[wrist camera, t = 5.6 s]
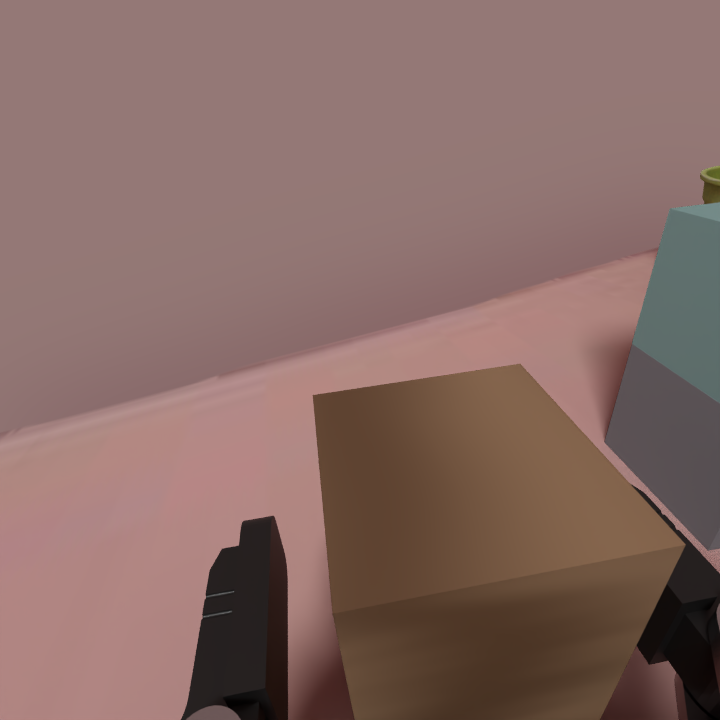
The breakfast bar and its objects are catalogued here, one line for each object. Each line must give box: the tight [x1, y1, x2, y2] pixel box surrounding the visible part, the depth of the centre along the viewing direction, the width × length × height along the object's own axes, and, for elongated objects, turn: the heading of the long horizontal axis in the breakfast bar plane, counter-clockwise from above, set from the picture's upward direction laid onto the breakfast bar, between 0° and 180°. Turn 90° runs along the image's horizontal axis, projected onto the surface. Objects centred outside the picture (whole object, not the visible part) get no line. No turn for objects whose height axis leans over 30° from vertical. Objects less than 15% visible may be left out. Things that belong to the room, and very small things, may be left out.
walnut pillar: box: [313, 364, 686, 720], centre depth 10 cm, size 4×4×10 cm
